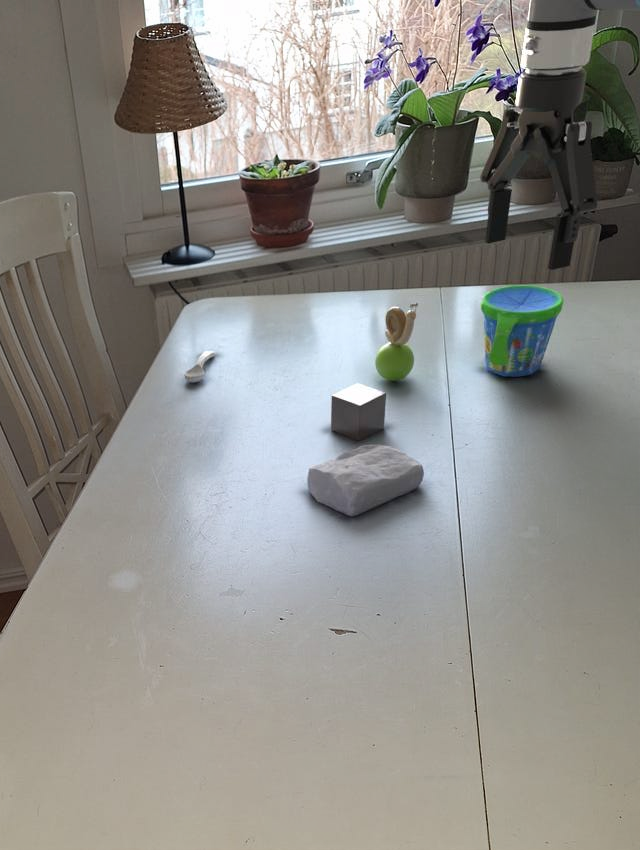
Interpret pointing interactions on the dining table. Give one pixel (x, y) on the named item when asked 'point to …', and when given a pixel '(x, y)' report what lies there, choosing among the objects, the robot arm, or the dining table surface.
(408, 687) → the dining table surface
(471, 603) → the dining table surface
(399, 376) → the snail figurine
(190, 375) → the spoon
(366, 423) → the metal cube
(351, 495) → the stone block
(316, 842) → the dining table surface
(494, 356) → the snack cup
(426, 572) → the dining table surface
